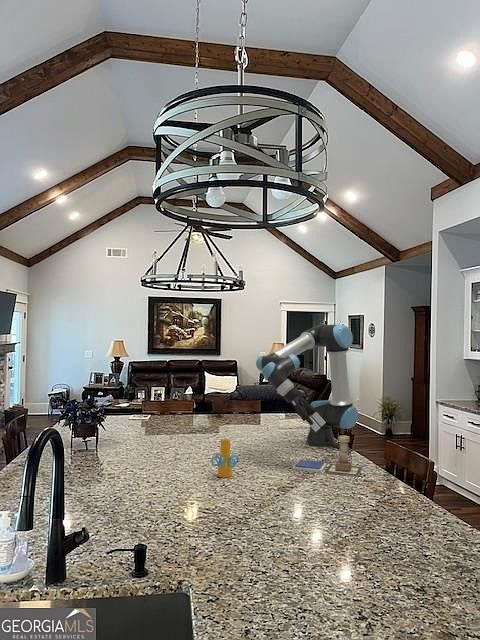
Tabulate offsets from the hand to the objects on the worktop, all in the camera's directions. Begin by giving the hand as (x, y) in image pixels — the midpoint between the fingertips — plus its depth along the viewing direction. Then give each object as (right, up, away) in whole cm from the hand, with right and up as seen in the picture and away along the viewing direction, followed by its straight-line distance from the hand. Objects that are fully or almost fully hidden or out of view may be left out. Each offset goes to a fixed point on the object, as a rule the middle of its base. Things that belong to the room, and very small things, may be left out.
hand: (321, 427), depth 239 cm
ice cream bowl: (-50, -19, +129) cm, 140 cm away
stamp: (+9, -18, -4) cm, 20 cm away
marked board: (+9, -18, -4) cm, 21 cm away
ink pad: (-5, -18, +1) cm, 19 cm away
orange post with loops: (-42, -17, -15) cm, 48 cm away
